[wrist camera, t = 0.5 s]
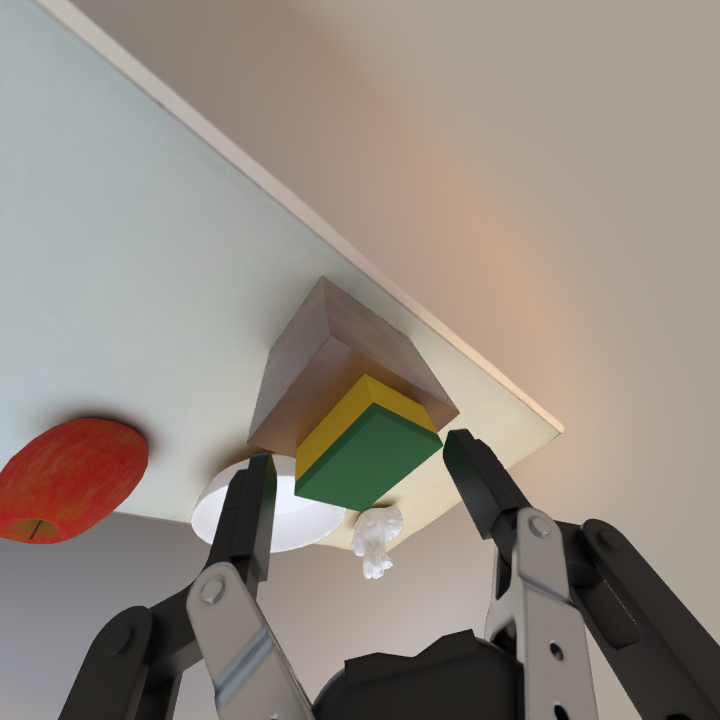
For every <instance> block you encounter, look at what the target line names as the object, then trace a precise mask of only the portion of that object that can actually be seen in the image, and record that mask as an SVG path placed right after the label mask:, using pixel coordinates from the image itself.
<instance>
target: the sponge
mask: <svg viewBox="0 0 720 720" xmlns="http://www.w3.org/2000/svg"><path fill="white" fill-rule="evenodd" d="M441 447H443V443H442V441H441V440H440V438H439V436H438V435H437V432H436V430H435V428H434V426H433V424H432V422H431V420H430V419H429V417H428V415H427V413H426V411H425V409H424V407H423V406H422V405H420V404H418V403H416V402H415V401H413V400H411V399H409V398H408V397H406V396H404V395H402V394H401V393H399V392H397V391H395V390H393V389H392V388H390V387H388V386H386V385H385V384H383V383H381V382H379V381H377V380H376V379H374V378H372V377H370V376H369V375H367V374H364V375H363V376H362V377H361V378H360V379H359V380H358V381H357V382H356V384H355V385H354V386H353V387H352V388H351V389H350V390H349V391H348V392H347V394H346V395H345V396H344V397H343V398H342V399H341V400H340V401H339V402H338V403H337V405H336V406H335V407H334V408H333V409H332V410H331V411H330V412H329V413H328V415H327V416H326V417H325V418H324V419H323V420H322V421H321V422H320V423H319V425H318V426H317V427H316V428H315V429H314V430H313V431H312V432H311V433H310V435H309V436H308V437H307V438H306V439H305V440H304V441H303V442H302V443H301V445H300V446H299V447H298V448H297V449H296V466H295V488H294V495H295V496H298V497H302V498H306V499H310V500H314V501H318V502H322V503H326V504H331V505H335V506H339V507H343V508H347V509H351V510H355V511H360V512H363V511H364V510H365V509H367V508H368V507H369V506H370V505H371V504H373V503H374V502H375V501H376V500H378V499H379V498H380V497H381V496H383V495H384V494H385V493H386V492H387V491H389V490H390V489H391V488H392V487H394V486H395V485H396V484H397V483H398V482H400V481H401V480H402V479H403V478H405V477H406V476H407V475H408V474H410V473H411V472H412V471H413V470H414V469H416V468H417V467H418V466H419V465H421V464H422V463H423V462H424V461H425V460H427V459H428V458H429V457H430V456H432V455H433V454H434V453H435V452H437V451H438V450H439V449H440V448H441Z"/></svg>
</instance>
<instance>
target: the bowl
mask: <svg viewBox="0 0 720 720" xmlns="http://www.w3.org/2000/svg"><path fill="white" fill-rule="evenodd" d="M271 454H272V457H273V461H274V465H275V468H276V472H277V494H276V503H275V512H274V522H273V531H272V540H271V549H270V553H273V552H281V551H287V550H291V549H295V548H299V547H303V546H306V545H308V544H311V543H314V542H316V541H318V540H320V539H322V538H324V537H325V536H327V535H328V534H330V533H331V532H332V531H333V530H335V529H336V528H337V527H338V526H339V524H340V523H341V522H342V520H343V518H344V516H345V513H346V508H343V507H339V506H335V505H331V504H326V503H322V502H318V501H314V500H310V499H306V498H302V497H298V496H295V495H294V488H295V466H296V459H295V458H292V457H289V456H285V455H282V454H279V453H271ZM249 461H250V458H249V459H246V460H243V461H241V462H239V463H236V464H234V465H232V466H230V467H228V468H226V469H225V470H223V471H221V472H220V473H219V474H218V475H217V476H216V477H215V478H213V480H212V481H211V482H210V483H209V485H208V486H207V487H206V488H205V490H204V491H203V493H202V494H201V496H200V497H199V499H198V501H197V503H196V505H195V507H194V509H193V512H192V516H191V523H192V527H193V529H194V531H195V532H196V534H197V535H198V536H199V537H200V538H201V539H203V540H204V541H205V542H207V543H209V544H211V545H212V543H213V540H214V536H215V532H216V529H217V525H218V522H219V518H220V514H221V511H222V507H223V503H224V500H225V498H226V497H225V496H226V493H227V489H228V485H229V482H230V481H231V479H232V478H233V476H234V475H235V474H236V472H237V471H238V470H241V469H248V465H249Z"/></svg>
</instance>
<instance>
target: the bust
mask: <svg viewBox="0 0 720 720" xmlns="http://www.w3.org/2000/svg"><path fill="white" fill-rule="evenodd" d="M402 526H403V517H402V513H401V511H400V510H399V508H398V507H396V506H390V507H386V508H370V509H368V510H366V511H364V512H363V513H362V514H361V515H360V516H359V517H358V520H357V522H356V523H355V525H354V536H353V540H352V543H351V545H352V547H353V551H354V552H355V554H356V555H357V556H364V558H363V563H362V566H363V569H364V572H363V574H364V575H365V578H367V579H370V578H371V577H372V576H373V578H375V579H377V578H378V577H380V576H383V574H384V569H385V568H386V569H388V568H390V566H392V565H393V564H392V560H391V559H390V558H389V557H388V556H387V554H386V552H385V550H386V546H387V544H388V542H389V541H390V540H392V539H393V538H394V537H396V536H397V535H398V534H399V533H400V531H401V529H402Z"/></svg>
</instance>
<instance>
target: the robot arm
mask: <svg viewBox="0 0 720 720" xmlns="http://www.w3.org/2000/svg"><path fill="white" fill-rule="evenodd" d="M443 460H444V463H445V465H446V467H447V469H448V471H449V473H450V475H451V477H452V479H453V481H454V483H455V485H456V487H457V489H458V491H459V493H460V495H461V497H462V499H463V501H464V503H465V505H466V507H467V509H468V511H469V513H470V515H471V517H472V519H473V521H474V523H475V525H476V527H477V529H478V531H479V533H480V535H481V537H482V539H483V540H485V539H490V538H493V540H494V542H495V544H496V546H495V553H494V568H493V582H492V596H491V603H490V607H489V610H488V613H487V618H486V624H485V634H484V639H481V638H478V637H475V636H474V633H473V630H472V629H469V630H465V631H461V632H457V633H453V634H449V635H445V636H442V637H441V638H439V639H438V640H437V641H435V642H434V643H433V644H431V645H430V646H429V647H427V648H426V649H425V650H423V651H422V652H421V653H419V654H418V655H417V656H415V657H405V656H399V655H392V654H386V653H378V652H377V653H373V654H369V655H365V656H361V657H357V658H353V659H349V660H345V661H344V662H345V667H344V668H343V669H341V670H340V671H339V672H337V673H336V674H335V675H334V676H333V677H332V678H331V679H330V680H329V681H328V683H327V684H326V685H325V686H324V687H323V689H322V690H321V692H320V693H319V695H318V696H317V698H316V699H315V701H314V704H313V705H312V703H311V701H310V699H309V697H308V696H307V694H306V692H305V690H304V688H303V686H302V685H301V683H300V681H299V679H298V677H297V675H296V673H295V672H294V670H293V668H292V666H291V664H290V663H289V661H288V659H287V657H286V655H285V654H284V652H283V650H282V648H281V646H280V645H279V643H278V641H277V639H276V637H275V635H274V633H273V632H272V630H271V628H270V626H269V624H268V622H267V620H266V619H265V617H264V615H263V613H262V611H261V609H260V607H259V606H258V604H257V602H256V597H257V588H258V582H262V581H267V577H268V567H269V558H270V549H271V540H272V531H273V522H274V512H275V503H276V494H277V472H276V468H275V465H274V461H273V457H272V454H271V452H266V453H258V454H252V455H251V457H250V461H249V465H248V469H241V470H238V471H237V472H236V474H235V475H234V476H233V478H232V479H231V481H230V482H229V485H228V489H227V493H226V496H225V497H226V498H225V500H224V503H223V507H222V511H221V514H220V518H219V522H218V525H217V529H216V532H215V536H214V540H213V543H212V547H211V550H210V554H209V557H208V560H207V562H206V565H205V567H204V568H203V570H202V571H201V573H200V574H199V576H198V577H197V578H196V579H195V580H194V581H193V582H192V583H191V584H190V585H189V586H188V587H186V588H185V589H183V590H182V591H180V592H179V593H177V594H175V595H173V596H171V597H169V598H167V599H166V600H164V601H162V602H160V603H158V604H156V605H155V606H153V607H151V608H149V609H148V608H146V607H144V606H133V607H130V608H128V609H126V610H124V611H122V612H120V613H119V614H117V615H116V616H115V617H114V618H112V619H111V620H110V621H109V622H108V623H107V624H106V625H105V626H104V627H103V629H102V630H101V631H100V632H99V634H98V635H97V636H96V638H95V639H94V641H93V643H92V645H91V646H90V649H89V651H88V653H87V655H86V657H85V659H84V662H83V664H82V666H81V668H80V671H79V673H78V675H77V678H76V680H75V682H74V685H73V687H72V689H71V691H70V693H69V696H68V698H67V700H66V703H65V705H64V707H63V709H62V712H61V714H60V716H59V718H58V720H172V718H173V714H174V710H175V705H176V701H177V696H178V692H179V687H180V683H181V678H182V674H183V671H184V670H186V669H188V668H189V667H191V666H192V665H194V664H195V663H197V662H198V661H200V660H201V659H203V658H204V660H205V663H206V666H207V668H208V671H209V674H210V677H211V679H212V682H213V686H214V690H215V706H216V710H217V714H218V717H219V720H599V718H598V711H597V705H596V699H595V692H594V685H593V678H592V672H591V666H590V659H589V652H588V646H587V639H586V632H585V626H584V623H585V624H586V626H587V628H588V629H589V631H590V633H591V634H592V636H593V638H594V639H595V641H596V643H597V644H598V646H599V647H600V649H601V651H602V653H603V654H604V656H605V658H606V659H607V661H608V663H609V664H610V666H611V668H612V669H613V671H614V673H615V674H616V676H617V678H618V679H619V681H620V683H621V685H622V686H623V688H624V690H625V691H626V693H627V695H628V696H629V698H630V700H631V701H632V703H633V705H634V706H635V708H636V709H637V711H638V713H639V714H640V716H641V718H642V720H720V646H719V645H718V644H717V643H716V641H715V640H714V639H713V638H712V637H711V636H710V634H709V633H708V632H707V631H706V630H705V629H704V628H703V626H701V624H700V623H699V622H698V621H697V619H696V618H695V617H694V616H693V615H692V614H691V612H690V611H689V610H688V609H687V608H686V607H685V606H684V605H683V603H682V602H681V601H680V600H679V599H678V597H676V595H675V594H674V593H673V592H672V591H671V590H670V588H669V587H668V586H667V585H666V584H665V582H664V581H663V580H662V579H661V578H660V577H659V576H658V574H657V573H656V572H655V571H654V570H653V569H652V567H651V566H650V565H649V564H648V563H647V562H646V561H645V559H644V558H643V557H642V556H641V555H640V554H639V552H638V551H637V550H636V549H635V548H634V547H633V546H632V544H631V543H630V542H629V541H628V540H627V539H626V538H625V536H624V535H623V534H622V533H620V532H619V531H618V530H617V529H616V528H614V527H613V526H611V525H610V524H608V523H606V522H604V521H601V520H597V519H588V520H587V521H586V522H585V523H583V524H582V525H577V524H571V523H566V522H560V521H556V520H553V519H552V518H550V517H549V516H548V515H547V514H546V513H544V512H542V511H541V510H539V509H536V508H534V507H533V506H531V504H530V503H529V502H528V500H527V499H526V498H525V496H524V495H523V493H522V492H521V491H520V489H519V488H518V486H517V485H516V484H515V482H514V481H513V479H512V478H511V476H510V475H509V474H508V472H507V471H506V469H504V467H503V465H502V464H501V462H500V461H499V460H498V459H497V457H496V455H495V454H494V453H493V451H492V450H491V448H490V447H489V446H487V445H486V444H485V443H484V442H482V441H481V440H480V439H476V440H475V439H474V437H473V436H472V434H471V433H470V432H469V430H467V429H458V430H450V431H449V432H448V435H447V439H446V442H445V445H444V449H443ZM605 581H606V582H607V583H606V582H605ZM608 585H609V586H608ZM610 588H611V589H612V590H611V589H610ZM613 592H614V593H613ZM615 595H616V596H617V597H616V596H615ZM618 599H619V600H618ZM571 601H572V602H571ZM620 602H621V603H622V604H621V603H620ZM623 606H624V607H623ZM625 609H626V610H627V611H626V610H625ZM628 613H629V614H628ZM630 616H631V617H632V618H631V617H630ZM633 620H634V621H633ZM635 623H636V624H635Z"/></svg>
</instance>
